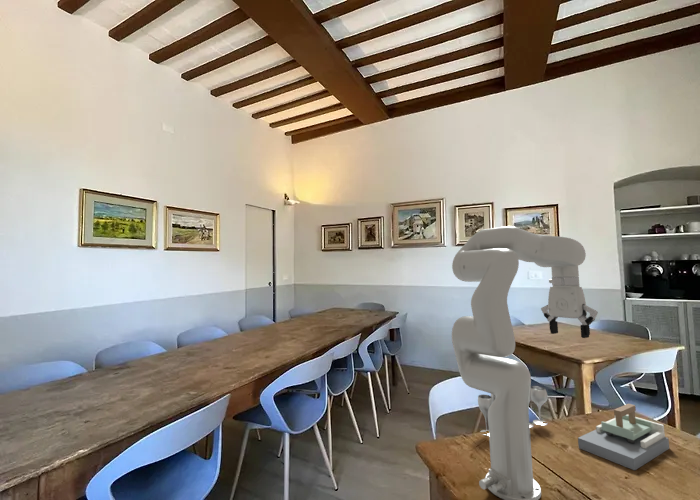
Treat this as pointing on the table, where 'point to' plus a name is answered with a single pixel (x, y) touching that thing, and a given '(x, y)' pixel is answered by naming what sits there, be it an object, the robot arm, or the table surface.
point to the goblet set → (535, 395)
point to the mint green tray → (627, 424)
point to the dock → (626, 446)
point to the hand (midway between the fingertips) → (569, 335)
